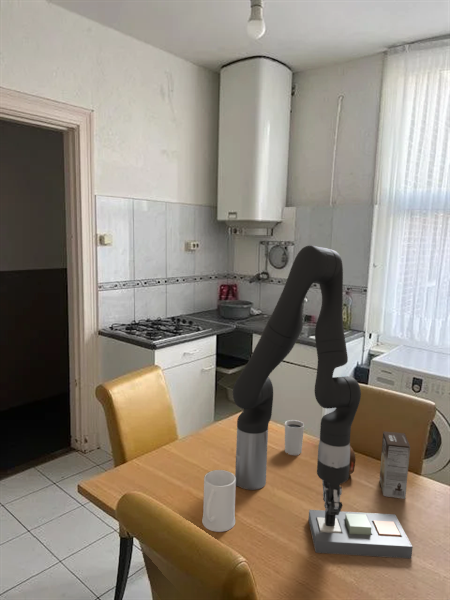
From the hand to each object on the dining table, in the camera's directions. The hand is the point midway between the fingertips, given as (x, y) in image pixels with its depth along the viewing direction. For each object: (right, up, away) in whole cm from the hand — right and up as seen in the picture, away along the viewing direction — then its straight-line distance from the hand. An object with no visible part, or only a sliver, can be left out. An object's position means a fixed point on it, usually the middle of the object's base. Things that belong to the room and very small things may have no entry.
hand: (329, 524), depth 107 cm
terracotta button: (+14, -4, 0) cm, 14 cm away
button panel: (+7, -3, 0) cm, 8 cm away
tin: (+12, +1, +35) cm, 37 cm away
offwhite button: (0, -3, 0) cm, 3 cm away
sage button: (+7, -2, 0) cm, 7 cm away
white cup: (-2, +2, +44) cm, 44 cm away
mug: (-28, -2, +4) cm, 28 cm away
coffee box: (+24, -1, +22) cm, 33 cm away
